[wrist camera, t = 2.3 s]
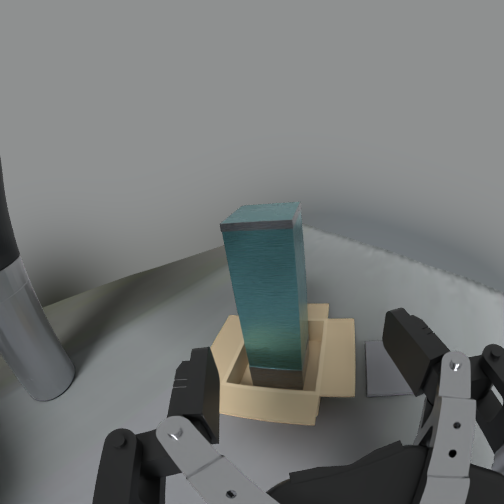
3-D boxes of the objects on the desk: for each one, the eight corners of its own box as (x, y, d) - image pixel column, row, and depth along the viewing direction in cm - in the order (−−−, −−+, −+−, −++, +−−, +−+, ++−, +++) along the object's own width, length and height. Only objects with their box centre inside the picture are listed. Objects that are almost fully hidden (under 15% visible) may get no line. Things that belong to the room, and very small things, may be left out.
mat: (366, 396, 21) (367, 394, 21) (364, 343, 28) (365, 341, 28) (439, 390, 19) (441, 388, 19) (426, 340, 26) (426, 337, 26)
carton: (189, 422, 22) (177, 402, 20) (241, 322, 36) (237, 301, 35) (347, 443, 17) (353, 425, 16) (351, 325, 32) (353, 303, 31)
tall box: (253, 385, 25) (219, 223, 19) (265, 352, 30) (241, 205, 23) (302, 390, 24) (292, 219, 17) (309, 355, 28) (300, 201, 22)
